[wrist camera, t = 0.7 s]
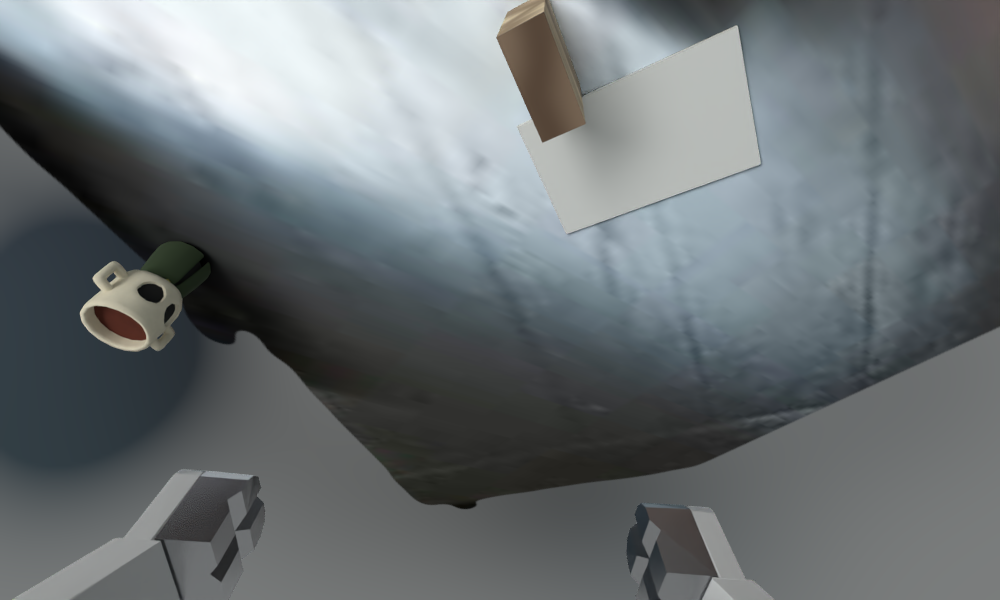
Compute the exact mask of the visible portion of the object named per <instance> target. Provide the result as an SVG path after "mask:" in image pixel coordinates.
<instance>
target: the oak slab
mask: <svg viewBox="0 0 1000 600" xmlns="http://www.w3.org/2000/svg"><path fill="white" fill-rule="evenodd" d="M496 38H497V40H498V43H499V45H500V47H501V49H502V52H503V54H504V56H505V59H506V61H507V63H508V65H509V68H510V70H511V72H512V75H513V77H514V79H515V81H516V84H517V86H518V88H519V91H520V93H521V95H522V97H523V100H524V102H525V104H526V107H527V109H528V111H529V113H530V116H531V118H532V120H533V123H534V125H535V127H536V129H537V132H538V134H539V136H540V139H541V141H542V143H543V142H546V141H548V140H550V139H553V138H555V137H557V136H559V135H562V134H564V133H566V132H569V131H571V130H573V129H575V128H578V127H580V126H582V125H585V124H586V122H585V115H584V109H583V102H582V95H581V88H580V83H579V81H578V78H577V75H576V72H575V70H574V67H573V64H572V61H571V59H570V56H569V53H568V50H567V48H566V45H565V42H564V39H563V37H562V34H561V31H560V28H559V26H558V23H557V20H556V17H555V15H554V12H553V9H552V6H551V4H550V1H549V0H529V1H527V2H525V3H523V4H522V5H520V6H518V7H516V8H514V9H513V10H511V11H509V12H507V15H506V17H505V19H504V21H503V24H502V26H501V28H500V31H499V33H498V35H497V37H496Z"/></svg>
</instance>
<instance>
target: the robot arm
mask: <svg viewBox="0 0 1000 600" xmlns="http://www.w3.org/2000/svg"><path fill="white" fill-rule="evenodd" d="M260 489H261V485H260V481H259V477H258V476H252V475H242V474H233V473H223V472H213V471H200V470H188V469H182V470H180V471H179V472H177V473H176V474H174V475H173V476H172V478H171V479H170V480H169V481H168V483H167V484H166V485H165V486H164V488H163V489H162V490H161V491H160V493H159V494H158V495H157V496H156V498H155V499H154V501H153V502H152V503H151V504H150V505H149V507H148V508H147V509H146V510H145V512H144V513H143V514H142V515H141V517H140V518H139V519H138V520H137V522H136V523H135V524H134V526H133V527H132V528H131V529H130V531H129V532H128V533H127V534H126V536H125V537H124V538H114V539H113V540H111V541H109V542H108V543H106V544H104V545H103V546H101V547H99V548H98V549H96V550H94V551H93V552H91V553H89V554H88V555H86V556H85V557H83V558H81V559H79V560H78V561H76V562H74V563H73V564H71V565H69V566H68V567H66V568H64V569H62V570H61V571H59V572H57V573H56V574H54V575H53V576H51V577H49V578H48V579H46V580H44V581H42V582H41V583H39V584H38V585H36V586H34V587H32V588H31V589H29V590H27V591H26V592H24V593H22V594H21V595H19V596H17V597H16V598H14V599H12V600H229V598H230V596H231V594H232V592H233V590H234V588H235V586H236V585H237V583H238V581H239V579H240V577H241V575H242V573H243V566H242V562H241V559H243V558H244V557H245V556H247V555H248V554H249V553H251V552H252V551H253V550H254V549H255V547H256V545H257V543H258V540H259V538H260V536H261V533H262V529H263V525H264V522H265V507H264V503H263V502H262V501H261V500H260V499H259V498H258V497H257V494H258V493H259V491H260ZM635 518H636V522H637V524H635V525H634V526H633V527H631V528H630V530H629V533H628V537H627V549H626V554H627V562H628V567H629V571H630V575H631V576H632V577H633V578H634V580H635V581H636V582H637V583H638V584H639V588H638V591H637V594H636V600H774V599H773V598H772V597H771V596H770V595H769V594H768V593H766V592H765V591H764V590H763V589H762V588H761V587H760V586H759V585H758V584H757V583H756V582H754V581H753V580H746V579H745V577H744V574H743V572H742V570H741V568H740V566H739V564H738V562H737V560H736V558H735V555H734V553H733V551H732V549H731V547H730V545H729V543H728V541H727V539H726V537H725V535H724V532H723V530H722V528H721V526H720V524H719V522H718V520H717V518H716V515H715V513H714V512H713V511H712V510H711V509H710V508H709V507H696V506H684V505H670V504H669V505H668V504H653V503H640V504H639V505H638V506H637V509H636V511H635Z"/></svg>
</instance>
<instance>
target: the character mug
mask: <svg viewBox="0 0 1000 600" xmlns="http://www.w3.org/2000/svg"><path fill="white" fill-rule="evenodd" d="M203 257H204V255H203V254H202V253H201V252H200V251H198V250H197V249H196V248H195V247H193V246H191V245H188V244H186V243H184V242H181V241H180V242H167V243H164V244H162V245H160V246H159V247H158V248H157V250H156V251H155V252H154V253H153V254H152V255H151V257H150V258H149V259H148V260H147V262H146V263H145V264H144V266H143V267H142V268H141V270H132V271H128V272H126V271H125V269H124V268H123V267H122V266H121V265H120V264H119V263H118V262H116V261H113V262H110V263H109V264H108V265H106V266H105V267H104V268H103V269H101V270H100V271H99V272H98V273H96V274H95V275H94V277H93V280H94V282H95V283H96V285H97V286H98V287H99V288H100V289H101V291H100V292H99V293H97V294H96V295H95V296H94V297H93V298H92V299H90V300H89V301H88V302H87V303H86V304H85V305H84V306H83V308H82V310H81V311H80V315H81V321H82V322H83V324H84V325H85V327H86V328H87V329H88V331H89V332H91V333H92V334H93V335H94V336H95V337H97V338H98V339H99V340H101V341H103V342H105V343H107V344H108V345H110V346H112V347H115V348H118V349H122V350H125V351H136V352H137V351H141V350H144V349H146V348H147V347H149V346H151V347H152V348H153V349H155V350H157V351H159V350H161V349H162V348H164V347H165V345H166V344H167V343H168V342H169V341H170V340H171V339H172V338H173V336H174V334H175V332H174V329H173V328H172V327H171V326H170V325H171V323H173V321H174V320H175V319H176V318H177V317H178V315H179V313H180V311H181V310H182V298H184V297H185V296H186V295H188V294H189V293H190V292H192V291H193V290H194V289H196V288H197V287H198V286H199V285H201V284H202V283H203V282H204V281H205V280H206V279H207V278H208V276H209V275H210V273H211V269H210V264H209V263H207V264H206V265H204V266H203V267H201V264H200V262H199V261H200V260H201V259H202V258H203ZM113 272H114V274H115V275H116V276H117V277H116V278H115V279H114V280H113V281H112V282H110V283H109V282H108V281H107V277H108V276H110V275H111V274H112V273H113ZM163 332H164V334H163V335H162V337H161V338H160V339H159V340H158V339H157V337H159V336H160V335H161V334H162V333H163Z"/></svg>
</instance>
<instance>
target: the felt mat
mask: <svg viewBox="0 0 1000 600" xmlns="http://www.w3.org/2000/svg"><path fill="white" fill-rule="evenodd" d="M582 102H583V109H584V115H585V122H586V124H585V125H582V126H580V127H578V128H575V129H573V130H571V131H569V132H566V133H564V134H562V135H559V136H557V137H555V138H553V139H550V140H548V141H546V142H543V143H542V141H541V139H540V136H539V134H538V132H537V129H536V127H535V125H534V123H533V120H532V119H531V120H529V121H527V122H524V123H522V124H520V125H518V126H517V128H518V130H519V132H520V135H521V137H522V139H523V141H524V143H525V145H526V148H527V150H528V152H529V154H530V156H531V159H532V161H533V163H534V165H535V167H536V169H537V172H538V174H539V176H540V178H541V180H542V182H543V185H544V187H545V189H546V191H547V193H548V195H549V198H550V200H551V202H552V204H553V206H554V209H555V211H556V213H557V215H558V217H559V219H560V222H561V224H562V226H563V228H564V230H565V232H566V234H569V233H571V232H574V231H577V230H580V229H583V228H585V227H588V226H591V225H594V224H596V223H599V222H602V221H605V220H608V219H610V218H613V217H616V216H619V215H621V214H624V213H627V212H630V211H633V210H635V209H638V208H641V207H644V206H646V205H649V204H652V203H655V202H658V201H660V200H663V199H666V198H669V197H671V196H674V195H677V194H680V193H683V192H685V191H688V190H691V189H694V188H696V187H699V186H702V185H705V184H708V183H710V182H713V181H716V180H719V179H721V178H724V177H727V176H730V175H733V174H735V173H738V172H741V171H744V170H746V169H749V168H752V167H755V166H758V165H760V164H761V161H760V155H759V149H758V143H757V138H756V132H755V126H754V120H753V114H752V108H751V102H750V96H749V90H748V84H747V78H746V72H745V66H744V60H743V54H742V48H741V42H740V36H739V30H738V26H737V25H736V26H734V27H732V28H730V29H727V30H725V31H723V32H721V33H719V34H716V35H714V36H712V37H710V38H708V39H706V40H703V41H701V42H699V43H697V44H695V45H692V46H690V47H688V48H686V49H684V50H682V51H679V52H677V53H675V54H673V55H671V56H668V57H666V58H664V59H662V60H660V61H658V62H655V63H653V64H651V65H649V66H647V67H644V68H642V69H640V70H638V71H636V72H634V73H631V74H629V75H627V76H625V77H623V78H620V79H618V80H616V81H614V82H612V83H610V84H607V85H605V86H603V87H601V88H599V89H596V90H594V91H592V92H590V93H588V94H586V95H583V96H582Z"/></svg>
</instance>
